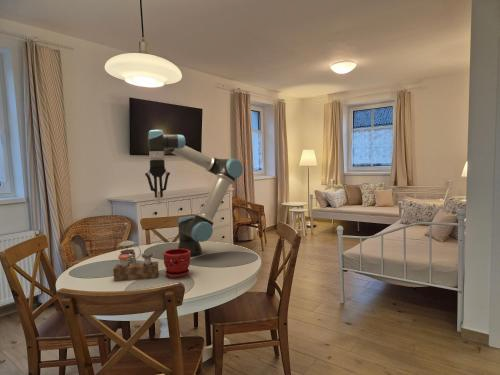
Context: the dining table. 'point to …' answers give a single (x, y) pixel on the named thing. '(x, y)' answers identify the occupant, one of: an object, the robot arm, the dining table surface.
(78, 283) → the dining table surface
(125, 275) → the socket block
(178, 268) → the plant pot
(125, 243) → the french press
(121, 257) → the red plug
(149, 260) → the charcoal plug
